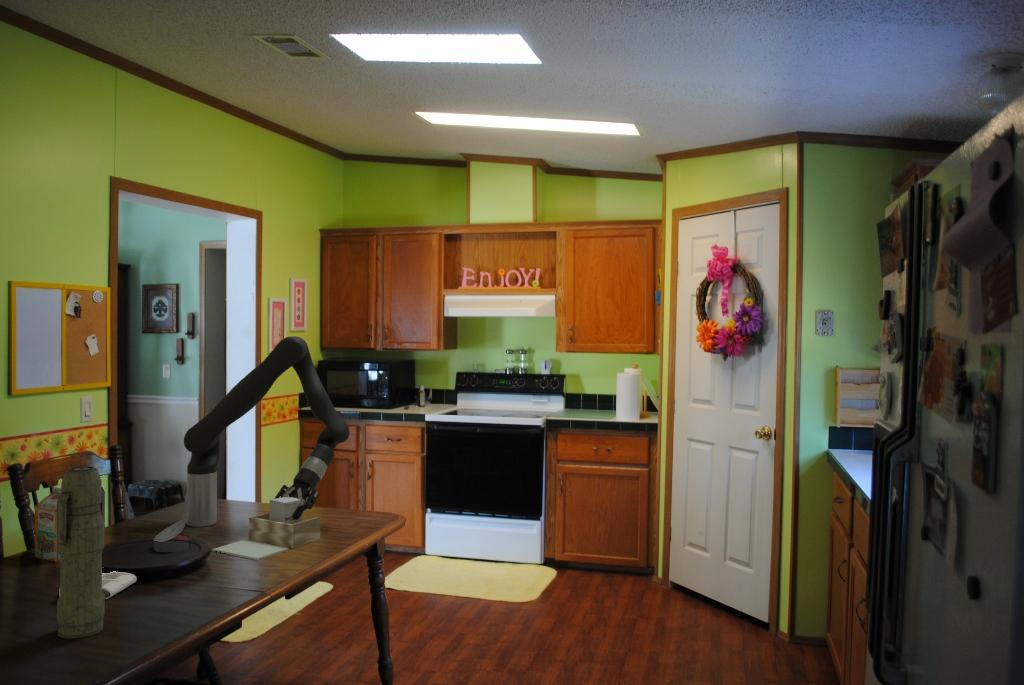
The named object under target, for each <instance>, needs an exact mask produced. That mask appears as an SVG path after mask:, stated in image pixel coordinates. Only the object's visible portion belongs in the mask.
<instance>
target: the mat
mask: <svg viewBox="0 0 1024 685" xmlns="http://www.w3.org/2000/svg"><path fill="white" fill-rule="evenodd" d="M212 551H213V552H215V551H217V552H216V553H220V552H221V554H224V553H226V554H225V555H229V554H230V556H234V555H235V557H238V558H239V557H240V558H244V559H247V560H248V559H249V560H252V561H253V560H254V561H261V560H263V559H265V558H270V557H271V556H276V555H279V554H281V553H284V552H287V551H289V548H286V547H281V546H275V545H270V544H265V543H260V542H255V541H250V540H249V539H242V540H239V541H235V542H233V543H229V544H225V545H222V546H219V547H216V548H213V549H212Z"/></svg>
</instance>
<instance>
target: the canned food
mask: <svg viewBox="0 0 1024 685" xmlns="http://www.w3.org/2000/svg"><path fill="white" fill-rule="evenodd" d="M186 522H187V519H185V518H183V519H180V520H179V521H177V522H175V523H173V524H172V525H170V526H168V527H166V528H164V529H163V530H161V532H159V533H158V534H156V536H155V537H154V538H153V542H154V541H158V542H165V541H168V540H170V539H184V540H190V539H191V538H190V536H189V534H188V535H187V534H184V533H183V534H182V531H183V530H184V528H185V527H186V525H187V524H186Z"/></svg>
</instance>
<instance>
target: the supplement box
mask: <svg viewBox="0 0 1024 685" xmlns="http://www.w3.org/2000/svg"><path fill="white" fill-rule="evenodd" d="M300 502H301V499H298V498H293V497H289V496H287V497H283V498H280V497H279V498H277V499H274V498H273V499H270V500H269V512H270V515H269V520H271V521H277V522H282V523H288V524H295V523H298V522H302V521H303V514H304V512H303V513H302V515H301V516H300V518H299V519H298V520H295V519H294V518H293V517H292V515H293V514H294V512H295V510H296V509H297V507H298V506H299V503H300Z"/></svg>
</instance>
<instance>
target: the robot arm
mask: <svg viewBox="0 0 1024 685" xmlns="http://www.w3.org/2000/svg"><path fill="white" fill-rule="evenodd" d="M312 358H313V357H312V355H311V353H310V349H309V346H308V342H306V340H305V339H303V338H302V337H299V336H294V335H293V336H287V337H284V338H282V339H281V340H280V341H279V342H278V343H277V344H276V345H275V346H274V347H273V349H272V350H271V351H270V353H269V354H268V355H267V356H266V357H265V359H263V361H262V362H260V363H259V365H257V366H256V367H255V368H253V369H252V370H250V372H249V373H247V374H246V375H244V377H243V378H242V379H241V380H240V381H238V382H237V383H236V384H235V385H234V386H233V387H232V389H230V390H229V391H228V393H227V394H226V395H225V396H224V397H223V398H222V399H220V401H219V402H218V403H217V405H215V407H214V408H213V409H211V410H210V412H209V413H207V415H205V416H204V417H203V418H202V419H200V420H199V421H198V422H196V423H195V424H194V425H193V426H191V427H190V428H189V429H187V431H186V432H185V435H184V437H183V445H184V447H185V449H186V450H187V451H188V452H189V453H191V454H190V455H191V456H190V460H189V462H188V463H187V466H186V467H187V468H186V471H187V473H186V478H187V479H186V485H187V486H186V487H187V489H186V494H185V496H184V519H187V522H186V524H185V525H187V526H188V527H207V526H213V525H215V524H217V522H218V521H217V520H218V519H217V518H218V517H217V514H218V510H217V509H218V507H217V506H218V504H217V503H218V498H217V497H218V491H217V489H218V465H219V461H220V447H221V443H220V442H221V439H220V438H221V437H220V435H221V434H222V433H223V432H224V431H225V430H226V429H227V428H228V427H229V426H230V425H232V424H233V423H235V422H236V421H237V420H239V419H241V418H242V417H243V416H245V415H246V414H247V413H249V412H250V411H252V409H254V407H255V406H256V405H258V404H259V403H260V402H261V400H263V398H264V397H265V396H266V395H267V394H268V393H269V391H270V389H271V388H272V387H273V385H274V384H275V382H276V381H277V379H279V378H280V377H281V376H282V375H283V374H284V373H285V372H287V370H289V369H290V368H293V370H294V371H295V373H296V374H297V377H298V379H299V381H300V384H301V387H302V390H303V393H304V397H305V399H306V402H307V404H308V406H309V408H310V410H311V412H312V414H313V417H314V418H315V419H316V421H318V422H322V423H323V424H324V425H325V428H323V429H322V430H321V432H320V433H319V436H318V438H317V440H316V443H315V447H314V448H313V449H312V451H311V452H310V454H309V455H308V457H307V459H306V460H305V461H304V462H303V463H302V465H301V467H300V469H299V470H298V472H297V473H296V475H295V476H294V478H293V479H292V480H293V481H292V482H293V484H292V485H291V486H287V485H286V484H283V485H282V486H281V488H280V489H279V491H278V492H277V494H276V495H275V496H274V498H273V499H277V498H283V497H288V496H289V497H293V498H298V499H301V502H300V503H299V506H298V507H297V509H296V510H295V512H294V514H293V515H292V517H293V518H294V519H295V520H298V519H299V518H300V516H301V515H302V513H303V514H304V511H306V510H311V509H313V506H314V504H315V503H316V501H317V499H318V497H319V495H320V493H319V492H318V490H316V489H317V487H318V486H319V484H320V482H321V481H322V478H323V477H324V476H325V474H326V472H327V469H328V467H329V466H330V464H331V463H332V461H333V460H334V457H335V448H336V447H337V446H338V445H339V444H343V443H345V442H346V441H347V440H348V439H349V438H350V428H349V425H348V423H347V421H345V419H344V418H343V417H342V415H341V414H340V413H339V412H338V411H337V409H335V407H334V404H333V403H332V400H331V399H330V396H329V394H328V393H327V390H326V389H325V387H324V385H323V383H322V381H321V379H320V377H319V375H318V372H317V370H316V367H315V364H314V362H313V359H312Z"/></svg>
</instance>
